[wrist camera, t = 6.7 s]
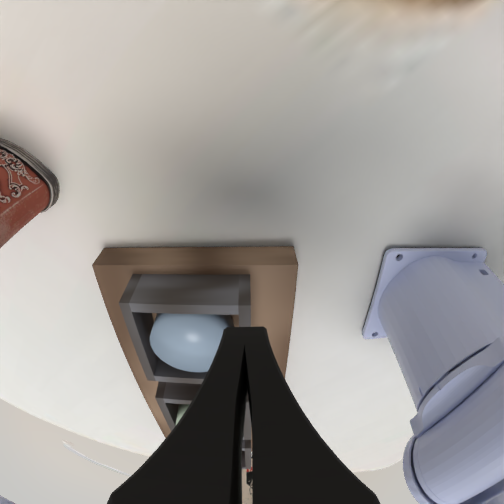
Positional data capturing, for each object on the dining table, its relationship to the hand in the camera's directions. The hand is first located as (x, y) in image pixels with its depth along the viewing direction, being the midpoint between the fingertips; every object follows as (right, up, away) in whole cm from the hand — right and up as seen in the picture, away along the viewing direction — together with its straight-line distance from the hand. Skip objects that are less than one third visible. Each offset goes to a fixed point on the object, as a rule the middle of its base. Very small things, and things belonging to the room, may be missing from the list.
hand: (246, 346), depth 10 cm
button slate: (-3, -1, +8) cm, 9 cm away
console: (-3, -8, +15) cm, 17 cm away
